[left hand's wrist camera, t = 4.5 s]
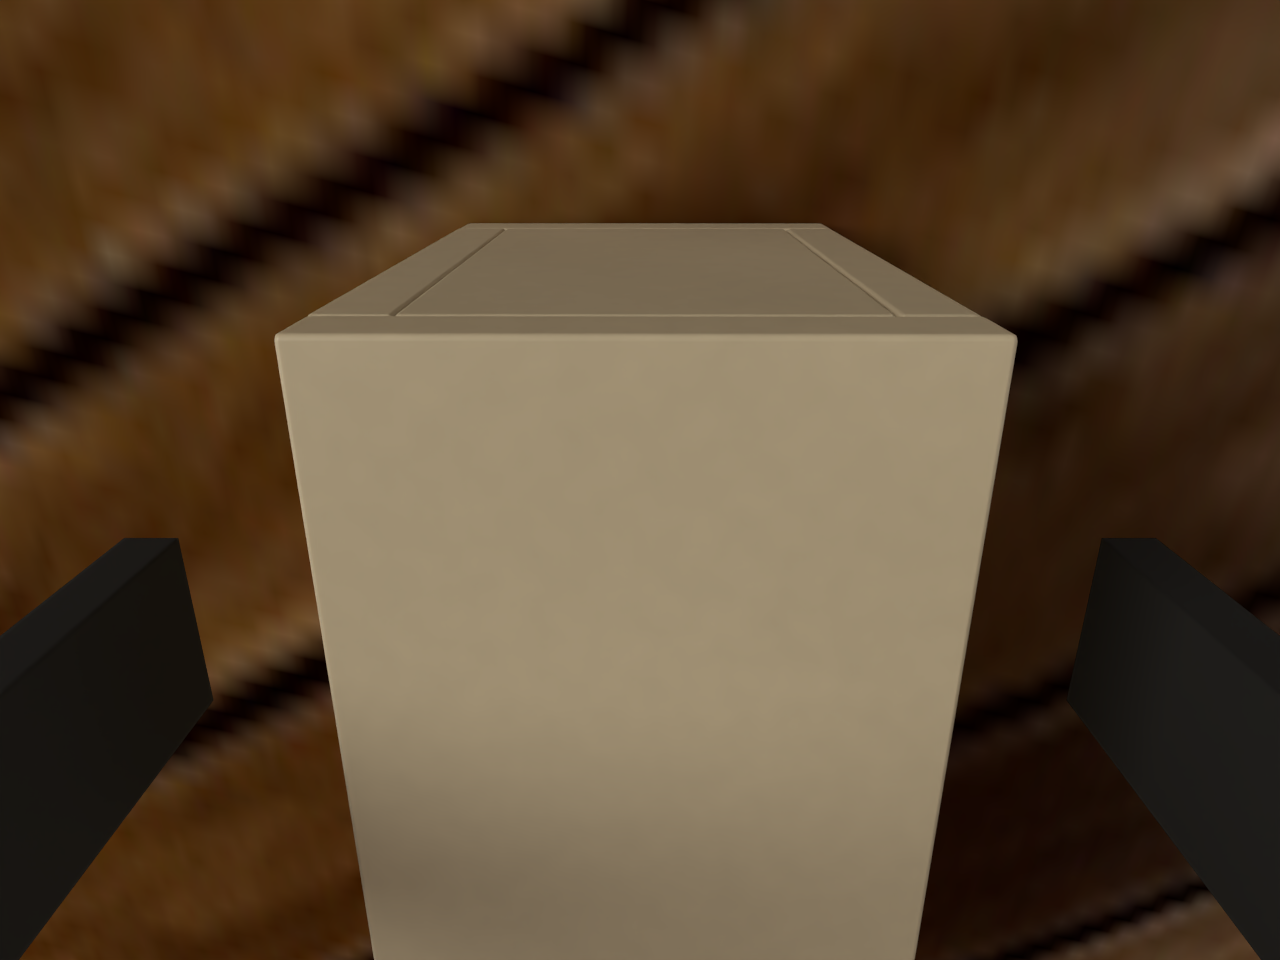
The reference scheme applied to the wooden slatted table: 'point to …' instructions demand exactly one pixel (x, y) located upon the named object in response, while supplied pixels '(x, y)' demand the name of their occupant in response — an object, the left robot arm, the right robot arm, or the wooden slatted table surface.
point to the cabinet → (645, 585)
